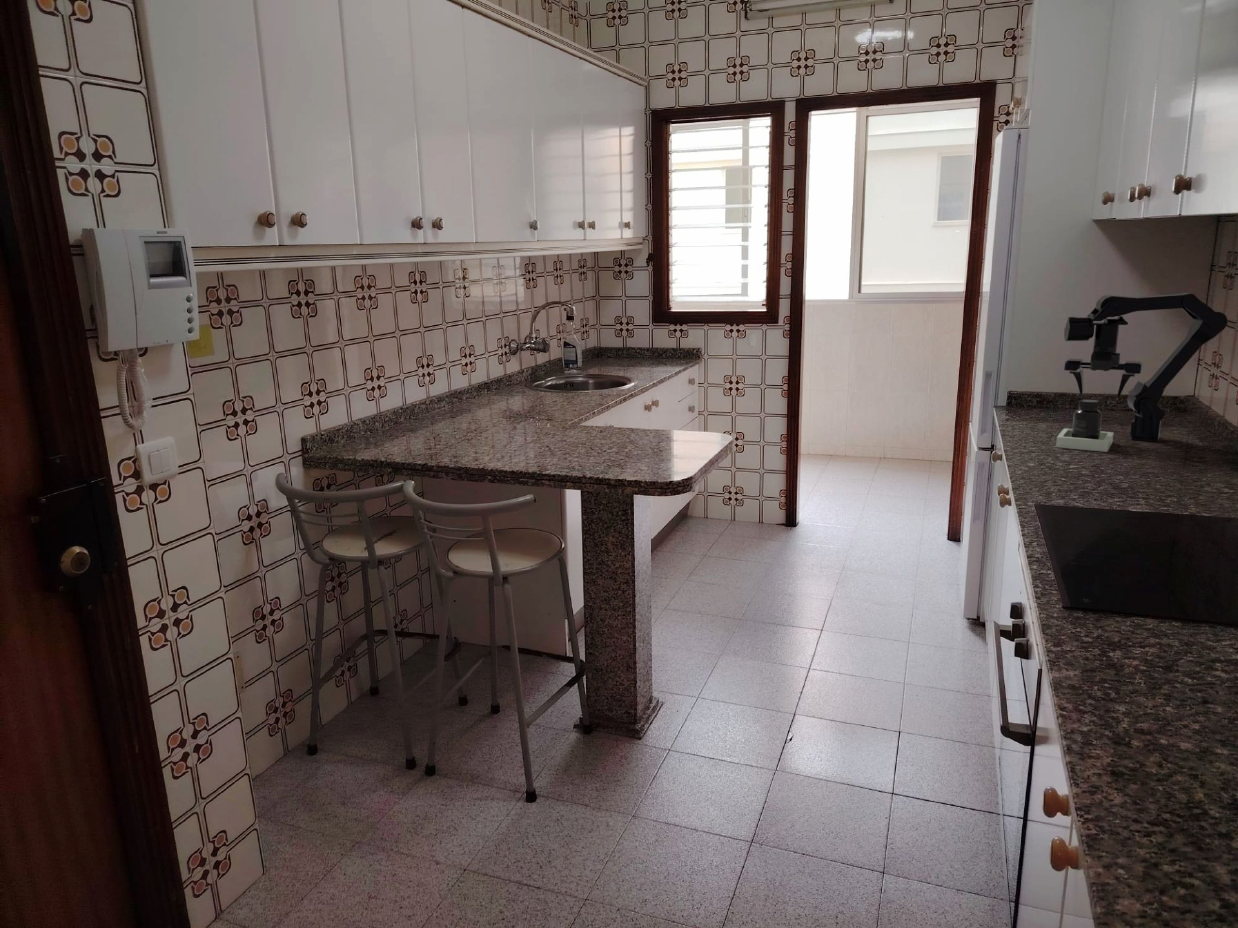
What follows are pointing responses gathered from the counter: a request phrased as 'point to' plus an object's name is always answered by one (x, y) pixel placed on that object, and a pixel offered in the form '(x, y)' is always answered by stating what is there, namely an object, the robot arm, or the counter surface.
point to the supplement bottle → (1087, 420)
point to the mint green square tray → (1084, 441)
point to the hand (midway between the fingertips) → (1099, 396)
